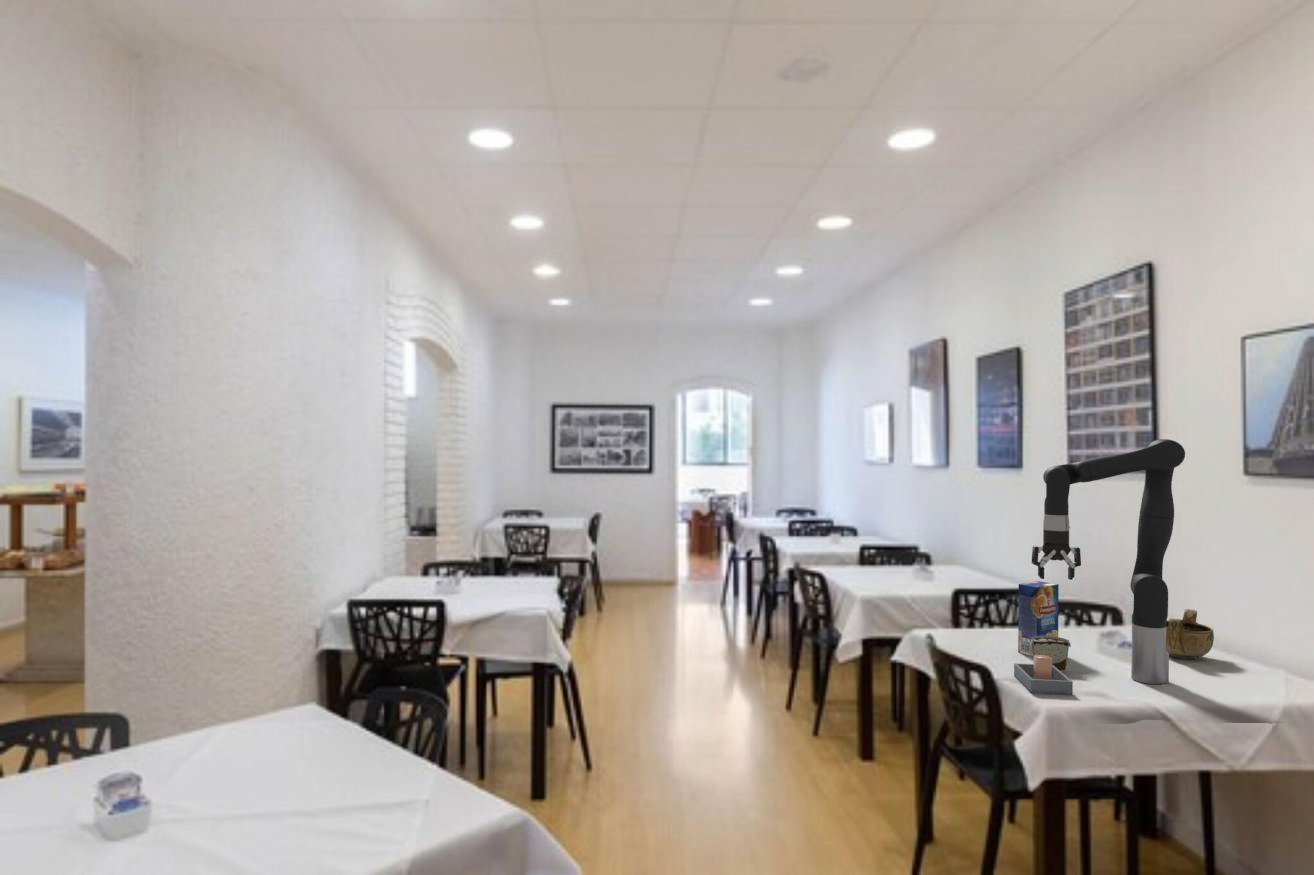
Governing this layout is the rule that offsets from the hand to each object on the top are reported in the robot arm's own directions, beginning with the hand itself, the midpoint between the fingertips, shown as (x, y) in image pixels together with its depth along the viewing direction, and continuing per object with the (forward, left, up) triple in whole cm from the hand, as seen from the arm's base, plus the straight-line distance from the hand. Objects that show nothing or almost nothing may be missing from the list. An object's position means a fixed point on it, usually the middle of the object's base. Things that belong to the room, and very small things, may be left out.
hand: (1056, 578), depth 262 cm
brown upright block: (+8, +15, -30) cm, 34 cm away
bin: (+9, +15, -30) cm, 35 cm away
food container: (+1, -5, -30) cm, 31 cm away
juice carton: (-2, -25, -30) cm, 39 cm away
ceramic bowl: (-50, -27, -30) cm, 64 cm away
